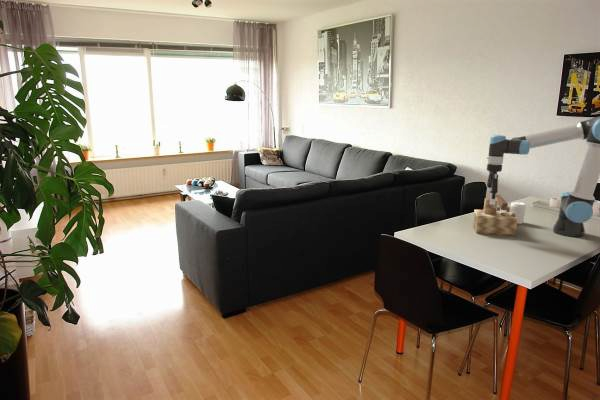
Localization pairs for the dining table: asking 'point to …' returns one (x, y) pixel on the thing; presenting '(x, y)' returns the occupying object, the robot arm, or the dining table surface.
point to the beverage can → (518, 211)
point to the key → (501, 202)
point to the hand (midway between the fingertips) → (490, 201)
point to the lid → (494, 212)
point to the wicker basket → (495, 225)
